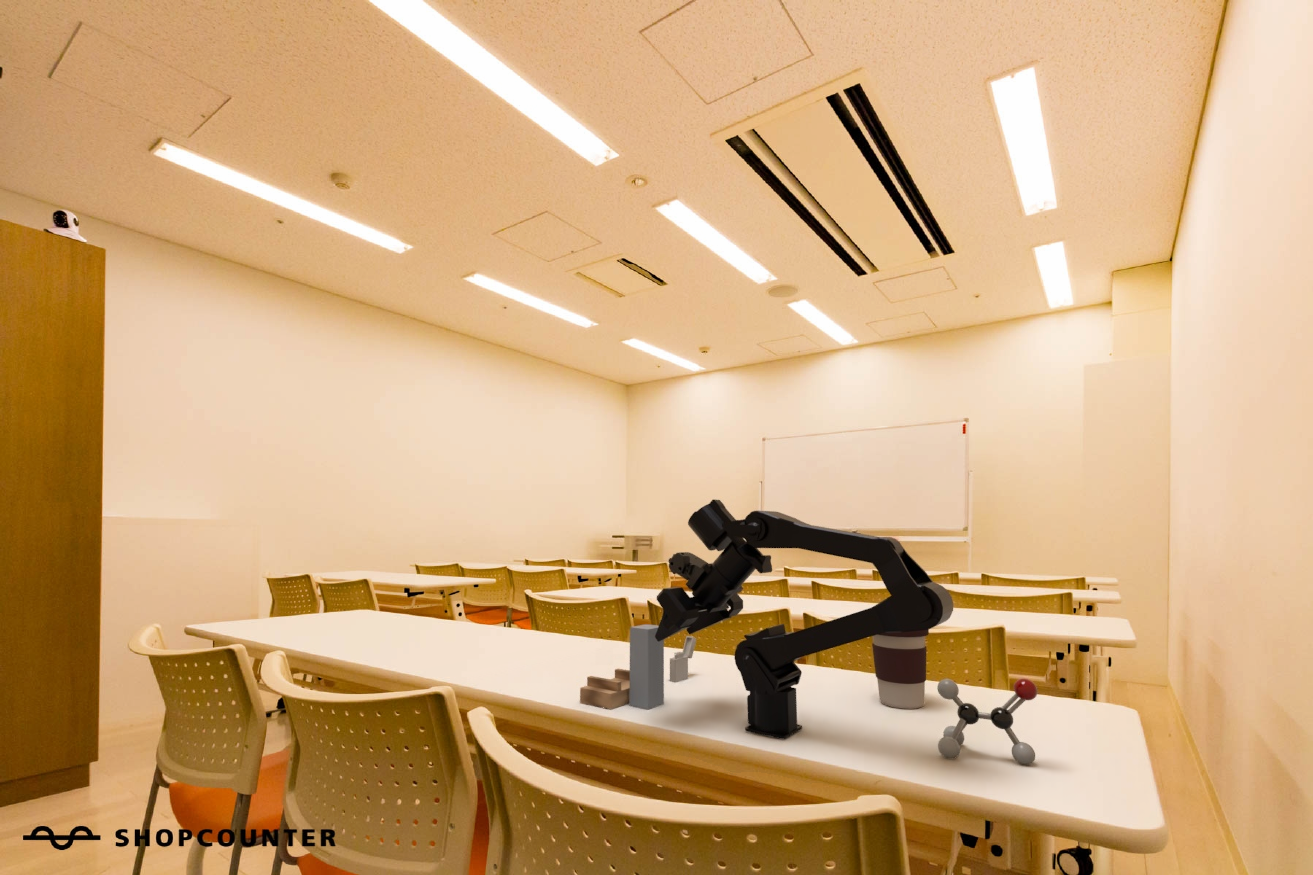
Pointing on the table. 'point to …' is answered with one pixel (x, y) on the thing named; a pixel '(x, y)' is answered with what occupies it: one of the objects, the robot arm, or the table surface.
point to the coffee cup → (901, 668)
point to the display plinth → (607, 690)
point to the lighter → (682, 661)
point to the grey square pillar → (646, 667)
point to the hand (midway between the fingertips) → (673, 635)
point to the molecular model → (998, 716)
